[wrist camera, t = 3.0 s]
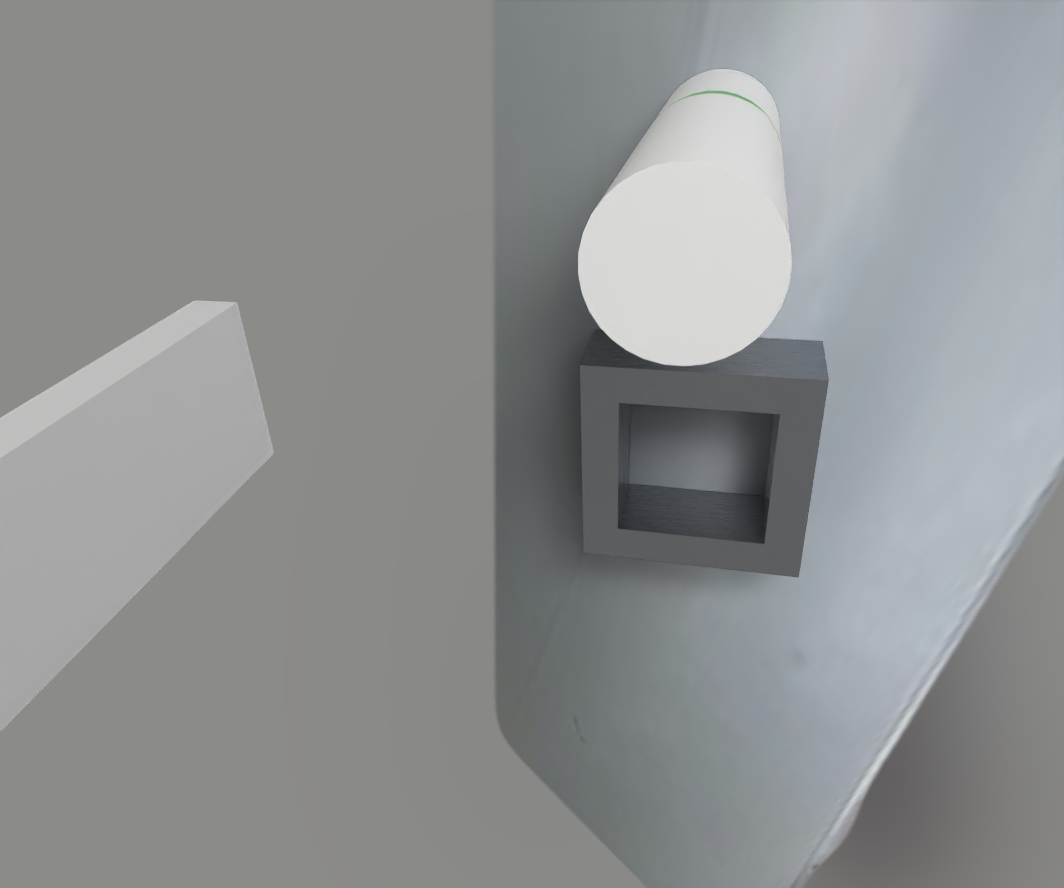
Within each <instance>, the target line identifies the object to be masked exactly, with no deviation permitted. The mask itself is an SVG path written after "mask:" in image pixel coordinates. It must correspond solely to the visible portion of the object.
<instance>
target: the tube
mask: <svg viewBox="0 0 1064 888" xmlns="http://www.w3.org/2000/svg"><path fill="white" fill-rule="evenodd" d="M791 269H792V258H791V244H790V233H789V222H788V211H787V200H786V188H785V177H784V166H783V155H782V144H781V133H780V122H779V114H778V111H777V107H776V104H775V102H774V100H773V98H772V96H771V95H770V93H769V92H768V91H767V89H766V88H765V87H764V86H763V85H762V84H761V83H760V82H758V81H757V80H756V79H755V78H753V77H751V76H749V75H747V74H745V73H743V72H740V71H736V70H731V69H715V70H710V71H705V72H702V73H700V74H698V75H695V76H693V77H691V78H690V79H688V80H687V81H685V82H684V83H683V84H681V85H680V86H679V87H678V88H677V89H676V90H675V91H674V92H673V94H672V95H671V97H670V98H669V99H668V101H667V102H666V104H665V105H664V107H663V108H662V110H661V111H660V113H659V114H658V116H657V117H656V119H655V120H654V122H653V123H652V125H651V126H650V128H649V129H648V131H647V132H646V133H645V135H644V136H643V138H642V139H641V141H640V142H639V144H638V145H637V147H636V148H635V150H634V151H633V153H632V154H631V156H630V157H629V159H628V160H627V162H626V163H625V165H624V166H623V168H622V169H621V171H620V172H619V174H618V175H617V177H616V178H615V180H614V181H613V183H612V184H611V186H610V187H609V189H608V190H607V192H606V193H605V195H604V196H603V198H602V199H601V201H600V202H599V204H598V205H597V207H596V208H595V210H594V211H593V213H592V214H591V216H590V218H589V221H588V223H587V225H586V227H585V230H584V232H583V235H582V239H581V244H580V248H579V253H578V276H579V281H580V286H581V291H582V295H583V297H584V300H585V302H586V305H587V307H588V309H589V312H590V313H591V315H592V316H593V318H594V319H595V321H596V322H597V324H598V325H599V327H600V328H601V329H602V330H603V331H604V332H605V333H606V334H607V335H608V336H609V337H610V338H611V339H612V340H613V341H614V342H616V343H617V344H618V345H620V346H621V347H623V348H624V349H625V350H627V351H629V352H631V353H633V354H635V355H637V356H639V357H641V358H643V359H646V360H649V361H653V362H657V363H660V364H664V365H675V366H692V365H702V364H707V363H711V362H714V361H718V360H721V359H724V358H726V357H728V356H730V355H732V354H734V353H737V352H739V351H741V350H742V349H743V348H745V347H746V346H748V345H749V344H750V343H752V342H753V341H754V340H756V339H757V338H758V337H759V336H760V335H761V334H762V333H763V332H764V331H765V330H766V328H767V327H768V326H769V325H770V324H771V322H772V321H773V319H774V318H775V316H776V315H777V313H778V311H779V310H780V308H781V307H782V304H783V301H784V299H785V296H786V293H787V291H788V288H789V283H790V276H791Z"/></svg>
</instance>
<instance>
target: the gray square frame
mask: <svg viewBox="0 0 1064 888" xmlns="http://www.w3.org/2000/svg"><path fill="white" fill-rule="evenodd" d="M828 381H829V380H828V373H827V366H826V360H825V353H824V346H823V341H805V340H785V339H765V338H757V339H756V340H754V341H753V342H752V343H750V344H749V345H748V346H746V347H745V348H743V349H742V350H741V351H739V352H737V353H734V354H732V355H730V356H728V357H726V358H724V359H721V360H718V361H714V362H711V363H707V364H702V365H692V366H675V365H664V364H660V363H657V362H653V361H649V360H646V359H643V358H641V357H639V356H637V355H635V354H633V353H631V352H629V351H627V350H625V349H624V348H623V347H621V346H620V345H618V344H617V343H616V342H614V341H613V340H612V339H611V338H610V337H609V336H608V335H607V334H606V333H605V332H604V331H603V330H596V331H595V333H594V335H593V337H592V340H591V342H590V344H589V346H588V348H587V351H586V353H585V355H584V357H583V360H582V362H581V364H580V398H581V452H582V505H583V553H590V554H598V555H607V556H616V557H625V558H634V559H642V560H651V561H660V562H669V563H677V564H686V565H695V566H704V567H713V568H721V569H730V570H739V571H748V572H757V573H765V574H774V575H783V576H792V577H799V571H800V564H801V558H802V551H803V545H804V538H805V532H806V525H807V519H808V512H809V505H810V499H811V492H812V486H813V479H814V473H815V466H816V460H817V453H818V446H819V440H820V433H821V427H822V420H823V414H824V407H825V401H826V394H827V387H828ZM630 404H640V405H655V406H669V407H683V408H697V409H712V410H726V411H740V412H754V413H769V414H774V419H773V428H772V436H771V445H770V453H769V462H768V470H767V479H766V487H765V496H754V495H743V494H732V493H722V492H711V491H700V490H689V489H679V488H668V487H657V486H646V485H636V484H629V466H630Z"/></svg>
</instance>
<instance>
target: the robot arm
mask: <svg viewBox="0 0 1064 888" xmlns="http://www.w3.org/2000/svg"><path fill="white" fill-rule="evenodd" d="M273 454H274V451H273V447H272V443H271V439H270V435H269V431H268V426H267V422H266V418H265V414H264V410H263V406H262V402H261V398H260V394H259V390H258V386H257V381H256V378H255V373H254V369H253V365H252V362H251V358H250V353H249V349H248V345H247V341H246V337H245V333H244V329H243V324H242V320H241V316H240V312H239V309H238V304H237V302H217V301H215V302H214V301H193V302H191V303H189V304H188V305H187V306H184V307H183V308H181V309H179V310H178V311H176V312H175V313H173V314H171V315H170V316H168V317H166V318H165V319H163V320H161V321H160V322H158V323H156V324H155V325H153V326H151V327H150V328H148V329H146V330H145V331H143V332H141V333H140V334H138V335H137V336H135V337H133V338H132V339H130V340H128V341H127V342H125V343H123V344H122V345H120V346H118V347H117V348H115V349H113V350H112V351H110V352H108V353H107V354H105V355H104V356H102V357H100V358H99V359H97V360H95V361H94V362H92V363H90V364H89V365H87V366H85V367H84V368H82V369H80V370H79V371H77V372H76V373H74V374H72V375H70V376H69V377H67V378H65V379H64V380H62V381H61V382H59V383H57V384H56V385H54V386H52V387H51V388H49V389H47V390H46V391H44V392H42V393H41V394H39V395H38V396H36V397H34V398H33V399H31V400H29V401H27V402H26V403H24V404H23V405H21V406H19V407H18V408H16V409H14V410H13V411H11V412H9V413H8V414H6V415H4V416H3V417H1V418H0V731H1V730H2V729H4V728H5V726H6V725H7V724H8V723H9V722H10V721H11V720H12V719H13V718H14V717H15V716H16V715H17V714H18V713H19V712H20V711H21V710H22V709H23V708H24V707H25V706H26V705H27V704H28V703H29V702H30V701H31V700H32V699H33V698H34V697H35V696H36V695H37V694H38V693H39V692H40V691H41V690H42V689H43V688H44V687H45V686H46V685H47V684H48V683H49V682H50V681H51V680H52V679H53V678H54V677H55V675H57V674H58V673H59V672H60V671H61V670H62V669H63V667H64V666H65V665H66V664H67V663H68V662H69V661H70V660H71V659H72V658H73V657H74V656H75V655H76V654H77V653H78V652H79V651H80V650H81V649H82V648H83V647H84V646H85V645H86V644H87V643H88V642H89V641H90V640H91V639H92V638H93V637H94V636H95V635H96V634H97V633H98V632H99V631H100V630H101V629H102V628H103V627H104V626H105V625H106V624H107V623H108V622H109V621H110V620H111V619H112V618H113V617H114V616H115V615H116V613H118V612H119V611H120V609H122V607H123V606H124V605H125V604H126V603H127V602H128V601H129V600H130V599H131V598H132V597H133V596H134V595H135V594H136V593H137V592H138V591H139V590H140V589H141V588H142V587H143V586H144V585H145V584H146V583H147V582H148V581H149V580H150V579H151V578H152V577H153V576H154V575H155V574H156V573H157V572H158V571H159V570H160V569H161V568H162V567H163V566H164V565H165V564H166V563H167V562H168V561H169V560H170V559H171V558H172V557H173V556H174V555H175V553H177V552H178V551H179V550H180V549H181V548H182V546H183V545H184V544H185V543H186V542H187V541H188V540H189V539H190V538H191V537H192V536H193V535H194V534H195V533H196V532H197V531H198V530H199V529H200V528H201V527H202V526H203V525H204V524H205V523H206V522H207V521H208V520H209V519H210V518H211V517H212V516H213V515H214V514H215V513H216V512H217V511H218V510H219V509H220V508H221V507H222V506H223V505H224V504H225V503H226V502H227V501H228V500H229V499H230V498H231V497H232V496H233V495H234V493H236V492H237V491H238V489H240V487H241V486H242V485H243V484H244V483H245V482H246V481H247V480H248V479H249V478H250V477H251V476H252V475H253V474H254V473H255V472H256V471H257V470H258V469H259V468H260V467H261V466H262V465H263V464H264V463H265V462H266V461H267V460H268V459H269V458H270V457H271V456H272V455H273Z"/></svg>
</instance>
